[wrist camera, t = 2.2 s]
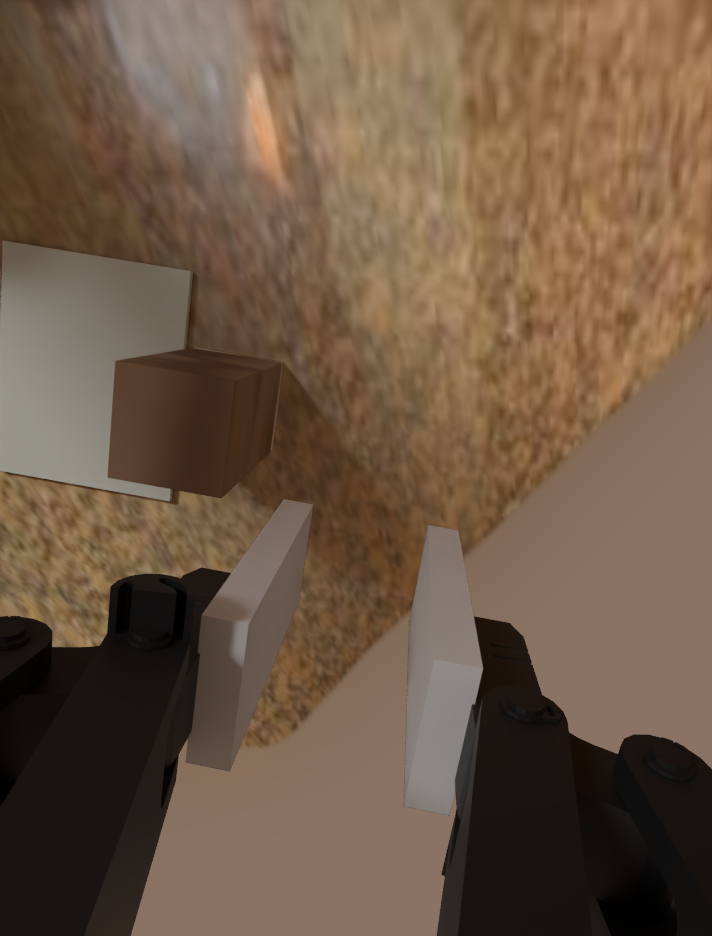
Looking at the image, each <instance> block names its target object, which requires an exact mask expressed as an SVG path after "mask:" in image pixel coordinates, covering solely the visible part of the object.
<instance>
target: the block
mask: <svg viewBox="0 0 712 936" xmlns="http://www.w3.org/2000/svg"><path fill="white" fill-rule="evenodd" d="M283 363H284V362H280V361H274V360H268V359H262V358H256V357H250V356H244V355H238V354H233V353H227V352H221V351H215V350H209V349H203V348H197V347H194V348H188V349H182V350H176V351H170V352H164V353H158V354H152V355H146V356H140V357H134V358H128V359H123V360H117V361H115V372H114V387H113V401H112V416H111V431H110V446H109V461H108V476H107V478H112V479H118V480H123V481H129V482H134V483H140V484H145V485H151V486H156V487H162V488H167V489H173V490H179V491H184V492H190V493H195V494H201V495H206V496H212V497H217V498H222V497H223V496H224V495H225V494H226V493H228V492H229V491H230V490H231V489H232V488H233V487H234V486H235V485H236V484H237V483H238V482H239V481H240V480H241V479H242V478H243V477H244V476H245V475H246V474H247V473H248V472H250V471H251V470H252V469H253V468H254V467H255V466H256V465H257V464H258V463H259V462H260V461H261V460H262V459H263V458H264V457H265V456H266V455H267V454H268V453H269V452H270V451H271V450H272V448H273V440H274V433H275V425H276V417H277V410H278V402H279V394H280V386H281V379H282V371H283Z"/></svg>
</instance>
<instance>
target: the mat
mask: <svg viewBox="0 0 712 936" xmlns="http://www.w3.org/2000/svg"><path fill="white" fill-rule="evenodd" d="M192 280H193V271H188V270H181V269H175V268H169V267H163V266H157V265H151V264H144V263H138V262H132V261H126V260H120V259H114V258H107V257H101V256H95V255H89V254H83V253H77V252H71V251H64V250H58V249H52V248H46V247H40V246H34V245H27V244H21V243H15V242H9V241H2V282H1V323H0V471H4V472H10V473H15V474H21V475H27V476H32V477H38V478H43V479H49V480H54V481H60V482H65V483H71V484H76V485H82V486H87V487H93V488H98V489H104V490H109V491H115V492H120V493H126V494H131V495H137V496H142V497H148V498H154V499H159V500H165V501H171V500H172V495H173V489H167V488H162V487H156V486H151V485H145V484H140V483H134V482H129V481H123V480H118V479H112V478H107V476H108V461H109V446H110V431H111V416H112V401H113V387H114V372H115V361H117V360H123V359H128V358H134V357H140V356H146V355H152V354H158V353H164V352H170V351H176V350H182V349H186V344H187V334H188V323H189V312H190V301H191V290H192Z"/></svg>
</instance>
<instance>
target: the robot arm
mask: <svg viewBox="0 0 712 936" xmlns="http://www.w3.org/2000/svg"><path fill="white" fill-rule="evenodd" d="M312 510H313V504H309V503H303V502H297V501H292V500H286V499H284V500H283V501H282V503H281V504H280V505H279V507H278V508H277V510H276V511H275V512H274V514H273V515H272V517H271V518H270V519H269V521H268V522H267V524H266V525H265V527H264V528H263V529H262V531H261V532H260V534H259V535H258V536H257V538H256V539H255V541H254V542H253V543H252V545H251V546H250V548H249V549H248V550H247V552H246V553H245V555H244V556H243V558H242V559H241V560H240V562H239V563H238V565H237V566H236V567H235V569H234V570H233V572H232V573H227V572H222V571H217V570H211V569H206V568H200V569H197V570H195V571H193V572H190V573H188V574H186V575H183V577H182V578H181V579H180V578H177V577H173V576H168V575H163V574H141V575H134V576H129V577H126V578H123V579H121V580H118V581H117V582H116V583H114V584H113V585H112V586H111V589H110V603H109V617H108V631H107V635H106V637H105V638H104V640H103V641H102V643H101V645H100V646H96V647H52V630H51V629H50V628H49V627H48V626H47V625H46V624H45V623H42V622H40V621H37V620H35V619H30V618H23V617H20V616H10V617H8V616H4V617H0V936H131V933H132V929H133V926H134V922H135V919H136V916H137V912H138V909H139V905H140V902H141V898H142V895H143V891H144V888H145V885H146V881H147V877H148V874H149V871H150V867H151V864H152V860H153V857H154V854H155V850H156V847H157V843H158V840H159V836H160V833H161V829H162V826H163V822H164V819H165V816H166V812H167V809H168V805H169V802H170V799H171V795H172V791H173V788H174V785H175V781H176V774H177V765H178V755H179V753H180V751H181V749H182V747H183V745H184V744H185V742H186V740H187V738H188V745H187V755H186V763H191V764H196V765H200V766H206V767H210V768H216V769H221V770H225V771H230V769H231V767H232V765H233V762H234V760H235V757H236V754H237V752H238V750H239V748H240V745H241V743H242V740H243V738H244V735H245V733H246V730H247V728H248V725H249V723H250V721H251V718H252V716H253V713H254V711H255V708H256V706H257V703H258V701H259V699H260V696H261V694H262V691H263V689H264V686H265V684H266V681H267V679H268V677H269V674H270V672H271V669H272V667H273V664H274V662H275V659H276V657H277V654H278V652H279V650H280V647H281V645H282V642H283V640H284V637H285V635H286V632H287V630H288V628H289V625H290V623H291V620H292V618H293V615H294V613H295V610H296V608H297V605H298V603H299V597H300V591H301V584H302V577H303V570H304V564H305V557H306V550H307V543H308V537H309V530H310V523H311V516H312ZM408 645H409V646H408V677H407V711H406V745H405V778H404V807H409V808H414V809H419V810H424V811H429V812H434V813H438V814H444V815H448V816H449V815H450V811H451V806H452V802H453V797H454V793H455V791H456V804H457V810H456V815H455V819H454V823H453V827H452V832H451V836H450V840H449V845H448V849H447V853H446V857H445V862H444V866H443V870H442V875H444V876H445V880H444V887H443V895H442V902H441V909H440V916H439V923H438V931H437V936H712V769H711V768H710V767H709V766H708V765H707V764H706V763H705V762H704V761H703V760H702V759H701V758H700V757H698V756H697V755H695V754H694V753H692V752H691V751H689V750H688V749H686V748H685V747H684V746H682V745H680V744H678V743H676V742H675V743H674V742H673V741H672V740H669V739H666V738H659V737H656V736H652V735H632V736H630V737H627V738H625V739H624V740H623V742H622V744H621V747H620V750H619V753H618V754H616V753H613V752H611V751H608V750H605V749H603V748H600V747H598V746H595V745H592V744H590V743H588V742H586V741H584V740H581V739H579V738H577V737H576V736H574V735H572V734H571V733H569V730H568V722H567V719H566V717H565V715H564V712H563V711H562V710H561V709H560V708H559V707H558V706H557V705H556V704H555V703H554V702H553V701H551V700H550V699H548V698H546V697H545V696H543V695H542V693H541V690H540V687H539V684H538V681H537V678H536V675H535V672H534V668H533V665H531V659H530V656H529V654H528V650H527V647H526V644H525V640H524V637H523V636H522V635H521V634H520V633H519V632H518V631H517V630H516V629H515V628H514V627H513V626H512V625H511V624H510V623H506V622H501V621H495V620H490V619H485V618H479V617H474V616H473V610H472V605H471V599H470V593H469V588H468V582H467V576H466V571H465V565H464V560H463V554H462V549H461V543H460V538H459V532H458V530H454V529H448V528H442V527H437V526H431V525H428V528H427V533H426V539H425V544H424V549H423V554H422V559H421V564H420V569H419V575H418V580H417V585H416V590H415V595H414V600H413V605H412V611H411V616H410V621H409V644H408Z"/></svg>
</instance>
